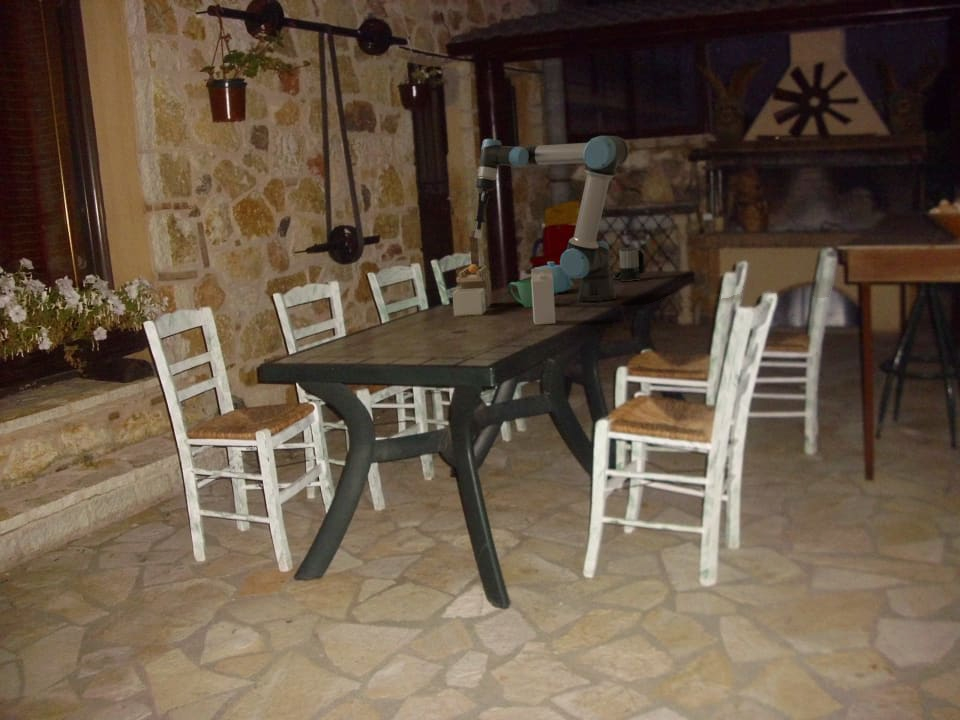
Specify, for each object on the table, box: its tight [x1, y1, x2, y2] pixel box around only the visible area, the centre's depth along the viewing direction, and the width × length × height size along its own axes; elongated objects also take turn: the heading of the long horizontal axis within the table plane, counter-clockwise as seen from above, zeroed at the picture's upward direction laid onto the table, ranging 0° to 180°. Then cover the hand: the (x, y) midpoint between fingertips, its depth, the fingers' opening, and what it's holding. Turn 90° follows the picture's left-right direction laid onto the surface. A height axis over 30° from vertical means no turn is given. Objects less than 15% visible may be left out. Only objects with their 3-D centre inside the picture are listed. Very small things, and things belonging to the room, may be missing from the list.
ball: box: [468, 264, 478, 274], centre depth 382 cm, size 4×4×4 cm
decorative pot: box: [533, 261, 574, 295], centre depth 412 cm, size 16×16×14 cm
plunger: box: [468, 230, 483, 273], centre depth 386 cm, size 4×5×17 cm
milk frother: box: [610, 246, 645, 280], centre depth 439 cm, size 14×16×15 cm
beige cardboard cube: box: [451, 288, 487, 317], centre depth 369 cm, size 11×11×9 cm
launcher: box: [455, 265, 493, 309], centre depth 382 cm, size 22×10×16 cm, turn 172°
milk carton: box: [530, 268, 556, 326], centre depth 332 cm, size 7×7×19 cm
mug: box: [507, 279, 533, 308], centre depth 378 cm, size 15×10×10 cm
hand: (477, 238), depth 383 cm, fingers closed
